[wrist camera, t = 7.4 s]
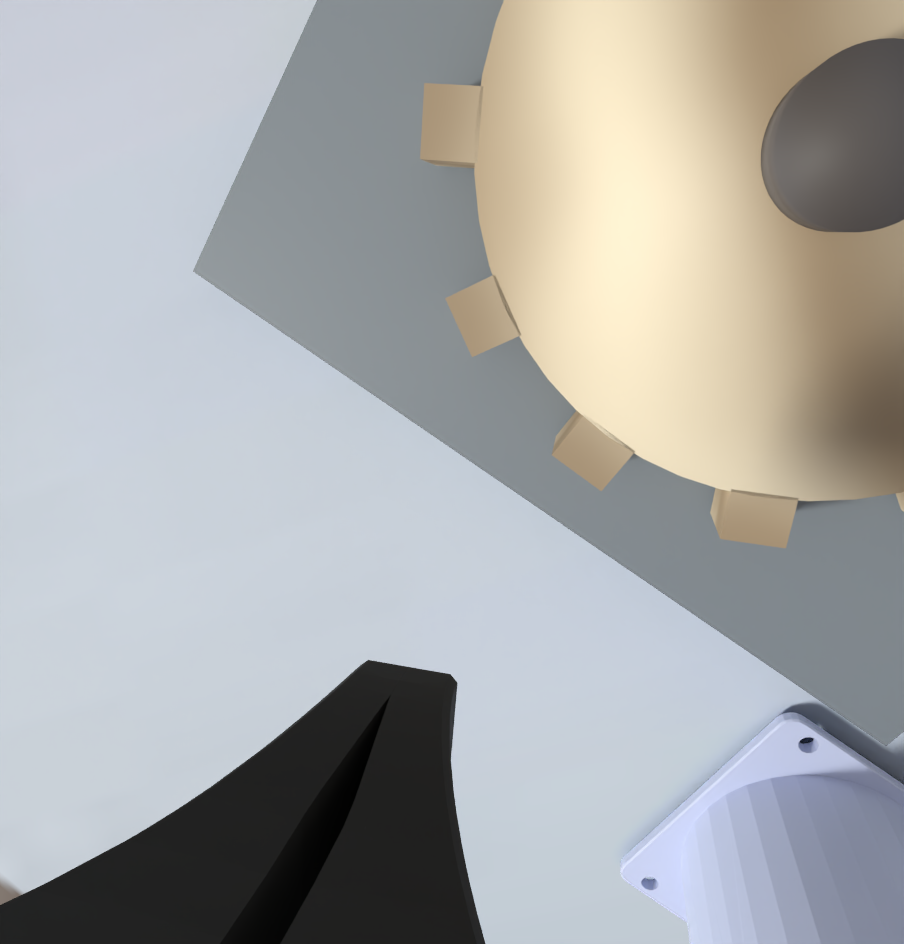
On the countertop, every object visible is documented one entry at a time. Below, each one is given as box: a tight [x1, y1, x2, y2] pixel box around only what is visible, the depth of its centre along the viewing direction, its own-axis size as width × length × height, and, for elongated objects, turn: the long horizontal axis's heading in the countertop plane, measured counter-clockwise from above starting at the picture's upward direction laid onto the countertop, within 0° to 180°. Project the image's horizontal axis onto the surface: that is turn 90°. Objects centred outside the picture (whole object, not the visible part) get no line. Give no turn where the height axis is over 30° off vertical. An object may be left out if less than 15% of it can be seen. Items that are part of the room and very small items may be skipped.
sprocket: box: [420, 0, 904, 548], centre depth 13 cm, size 16×16×5 cm
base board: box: [193, 0, 904, 746], centre depth 15 cm, size 22×20×3 cm
